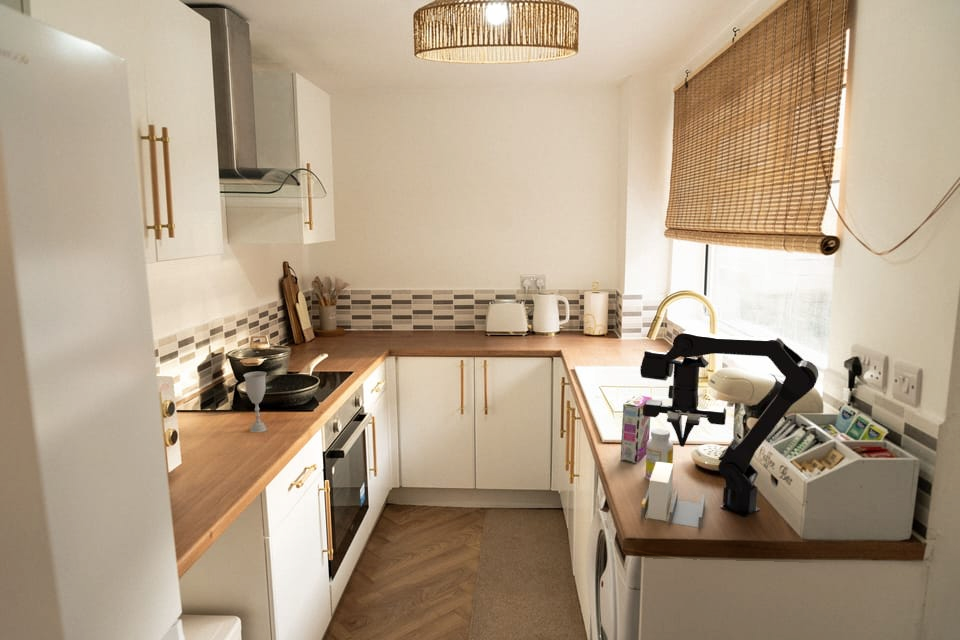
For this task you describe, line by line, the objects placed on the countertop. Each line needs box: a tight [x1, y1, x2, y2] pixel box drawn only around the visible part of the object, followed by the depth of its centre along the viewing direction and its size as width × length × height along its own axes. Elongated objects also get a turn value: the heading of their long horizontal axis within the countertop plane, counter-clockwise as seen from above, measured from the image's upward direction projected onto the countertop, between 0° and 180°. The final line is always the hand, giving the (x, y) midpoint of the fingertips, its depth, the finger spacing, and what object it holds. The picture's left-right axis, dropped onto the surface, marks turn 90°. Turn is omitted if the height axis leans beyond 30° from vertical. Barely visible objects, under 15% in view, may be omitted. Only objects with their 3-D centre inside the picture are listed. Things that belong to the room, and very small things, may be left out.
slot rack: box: [640, 487, 706, 529], centre depth 157 cm, size 13×13×4 cm
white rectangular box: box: [648, 462, 674, 521], centre depth 158 cm, size 4×12×9 cm, turn 159°
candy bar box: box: [620, 394, 653, 464], centre depth 191 cm, size 11×5×16 cm, turn 149°
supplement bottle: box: [645, 428, 674, 481], centre depth 176 cm, size 7×7×13 cm
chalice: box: [243, 370, 268, 434], centre depth 213 cm, size 7×7×18 cm
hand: (682, 446), depth 164 cm, fingers closed
